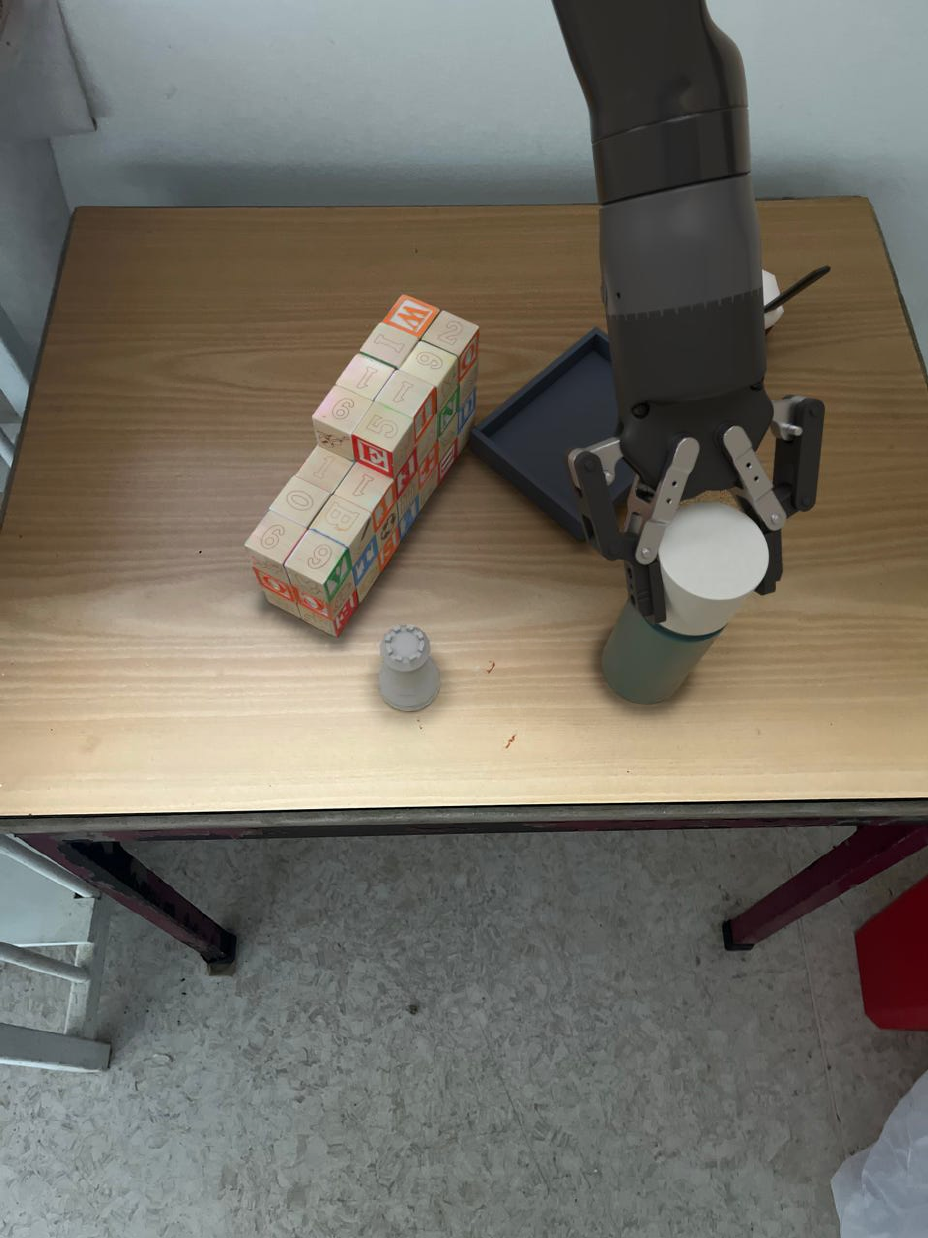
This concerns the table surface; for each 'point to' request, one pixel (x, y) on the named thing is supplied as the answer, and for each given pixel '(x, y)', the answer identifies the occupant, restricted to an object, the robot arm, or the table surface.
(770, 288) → the cocoa
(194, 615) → the table surface
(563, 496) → the tray
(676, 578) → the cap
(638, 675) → the green metal cylinder
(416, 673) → the rook chess piece
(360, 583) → the stack of blocks
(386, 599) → the table surface
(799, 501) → the robot arm
